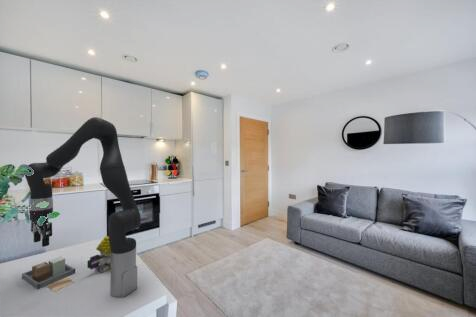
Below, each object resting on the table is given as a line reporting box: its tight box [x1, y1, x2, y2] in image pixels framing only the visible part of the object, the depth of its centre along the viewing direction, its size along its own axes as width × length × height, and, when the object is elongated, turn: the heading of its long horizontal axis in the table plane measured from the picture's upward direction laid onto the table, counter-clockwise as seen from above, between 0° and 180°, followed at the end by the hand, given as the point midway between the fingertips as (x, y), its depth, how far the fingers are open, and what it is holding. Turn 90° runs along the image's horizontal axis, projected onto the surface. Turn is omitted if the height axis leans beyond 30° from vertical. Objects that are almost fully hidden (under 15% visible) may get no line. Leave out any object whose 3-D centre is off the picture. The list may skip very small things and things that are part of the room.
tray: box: [21, 263, 76, 290], centre depth 91 cm, size 16×13×2 cm
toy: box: [86, 235, 111, 274], centre depth 96 cm, size 10×13×15 cm
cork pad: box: [45, 276, 75, 293], centre depth 85 cm, size 7×7×1 cm
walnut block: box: [31, 261, 50, 282], centre depth 88 cm, size 4×4×6 cm
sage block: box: [48, 256, 66, 276], centre depth 93 cm, size 4×4×6 cm
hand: (41, 243), depth 88 cm, fingers open, 8 cm apart
